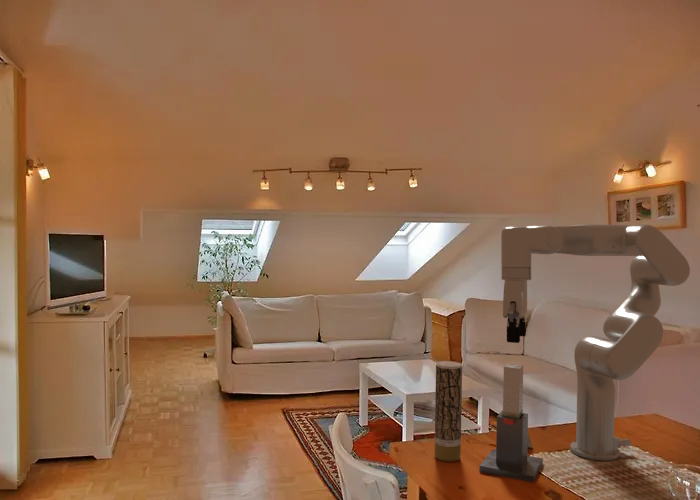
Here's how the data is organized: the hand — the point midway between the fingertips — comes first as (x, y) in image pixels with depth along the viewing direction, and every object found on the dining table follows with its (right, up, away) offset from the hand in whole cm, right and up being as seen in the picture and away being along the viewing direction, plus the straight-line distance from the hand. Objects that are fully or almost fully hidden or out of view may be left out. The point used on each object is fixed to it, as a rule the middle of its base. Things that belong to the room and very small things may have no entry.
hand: (516, 339), depth 153 cm
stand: (-3, -32, -5) cm, 32 cm away
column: (-2, -24, -5) cm, 25 cm away
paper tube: (-18, -32, +2) cm, 37 cm away
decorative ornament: (+5, -32, +13) cm, 35 cm away
